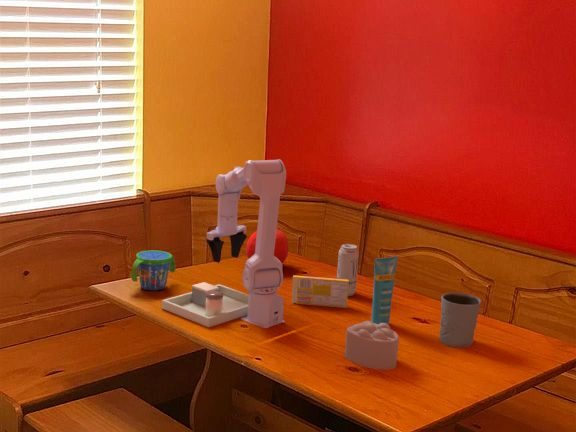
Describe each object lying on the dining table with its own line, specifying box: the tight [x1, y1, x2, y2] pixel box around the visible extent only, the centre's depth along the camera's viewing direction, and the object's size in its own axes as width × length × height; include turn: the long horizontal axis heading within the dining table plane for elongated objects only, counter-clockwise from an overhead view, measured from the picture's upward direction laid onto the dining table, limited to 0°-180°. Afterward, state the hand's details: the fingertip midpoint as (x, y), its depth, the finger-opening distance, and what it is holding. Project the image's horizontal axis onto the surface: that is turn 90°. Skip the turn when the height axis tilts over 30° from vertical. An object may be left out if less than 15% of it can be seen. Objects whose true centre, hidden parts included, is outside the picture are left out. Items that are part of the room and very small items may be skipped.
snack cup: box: [130, 249, 177, 292], centre depth 248 cm, size 16×10×10 cm
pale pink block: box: [191, 281, 219, 308], centre depth 236 cm, size 6×5×5 cm
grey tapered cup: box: [439, 292, 482, 349], centre depth 219 cm, size 10×10×12 cm
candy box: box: [291, 274, 349, 309], centre depth 242 cm, size 16×2×8 cm, turn 84°
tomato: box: [245, 228, 289, 264], centre depth 273 cm, size 16×14×14 cm
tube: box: [370, 255, 399, 326], centre depth 228 cm, size 7×5×19 cm, turn 123°
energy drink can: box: [336, 243, 360, 297], centre depth 252 cm, size 6×6×15 cm
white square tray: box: [161, 284, 249, 328], centre depth 232 cm, size 19×22×3 cm
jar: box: [205, 291, 223, 317], centre depth 225 cm, size 5×5×7 cm
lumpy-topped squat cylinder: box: [344, 320, 400, 370], centre depth 205 cm, size 10×13×9 cm
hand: (225, 259), depth 247 cm, fingers open, 7 cm apart
